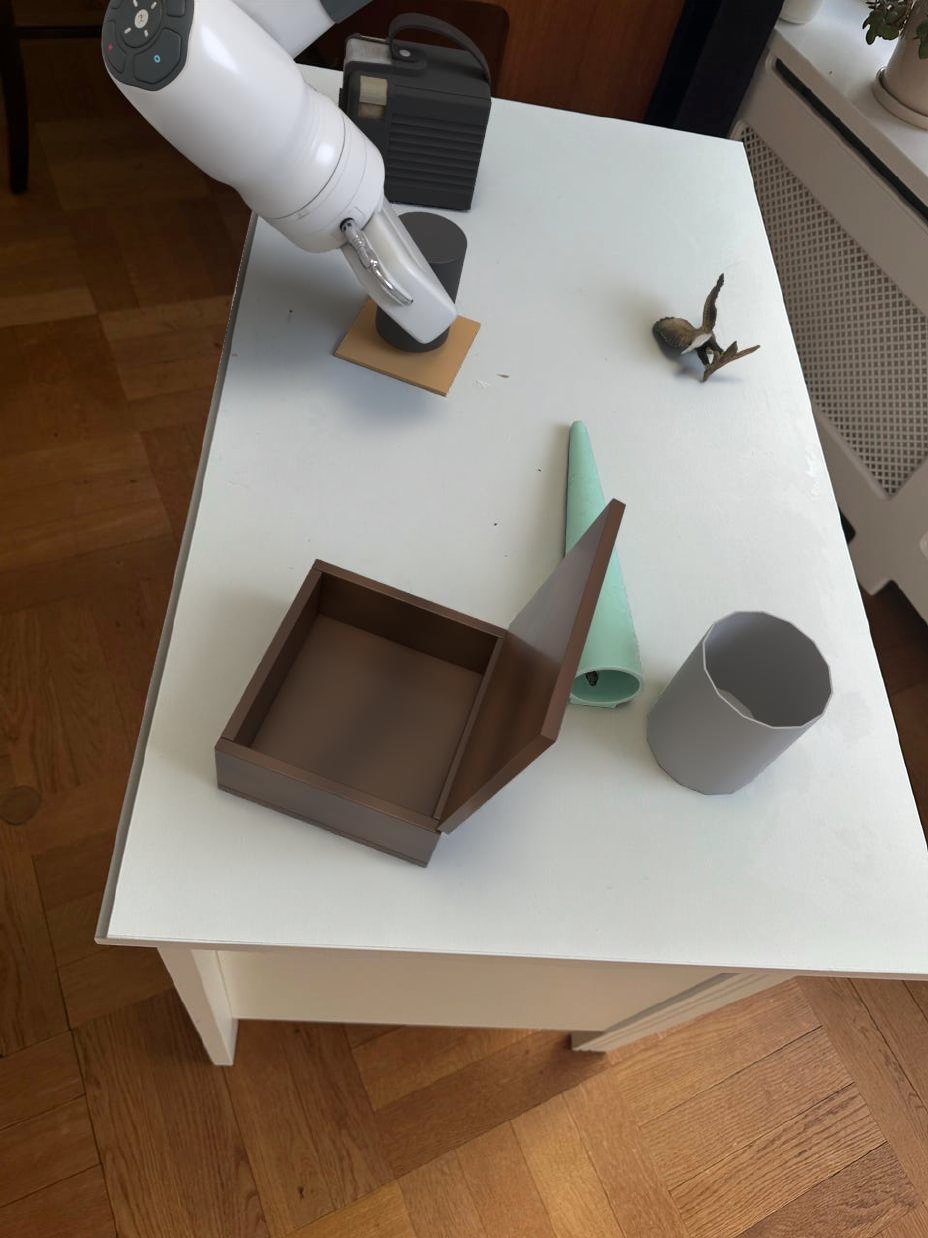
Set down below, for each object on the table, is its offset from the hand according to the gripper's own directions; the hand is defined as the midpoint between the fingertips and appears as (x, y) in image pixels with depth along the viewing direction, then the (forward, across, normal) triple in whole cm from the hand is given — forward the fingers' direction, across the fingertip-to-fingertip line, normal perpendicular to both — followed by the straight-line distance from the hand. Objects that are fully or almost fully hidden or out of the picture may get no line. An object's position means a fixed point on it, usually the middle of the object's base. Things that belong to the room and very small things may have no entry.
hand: (426, 279), depth 77 cm
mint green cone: (+6, -26, +2) cm, 27 cm away
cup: (+7, -42, +2) cm, 43 cm away
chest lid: (-14, -39, +4) cm, 41 cm away
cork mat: (+4, 0, +5) cm, 6 cm away
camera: (+11, +23, -2) cm, 25 cm away
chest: (-9, -34, +17) cm, 39 cm away
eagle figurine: (+22, -8, -13) cm, 27 cm away
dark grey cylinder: (+3, 0, +4) cm, 5 cm away
